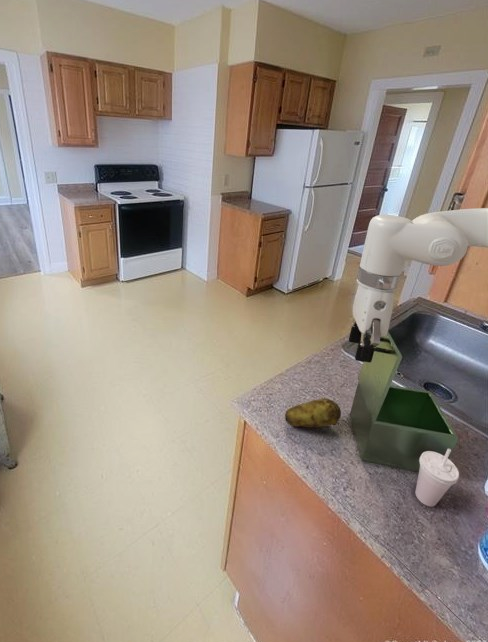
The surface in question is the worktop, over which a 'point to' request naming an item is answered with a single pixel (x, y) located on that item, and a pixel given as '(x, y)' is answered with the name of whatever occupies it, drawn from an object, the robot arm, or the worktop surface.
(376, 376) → the lid
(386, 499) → the worktop surface
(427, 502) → the smoothie
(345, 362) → the worktop surface
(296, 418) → the potato
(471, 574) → the worktop surface
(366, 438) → the caddy
